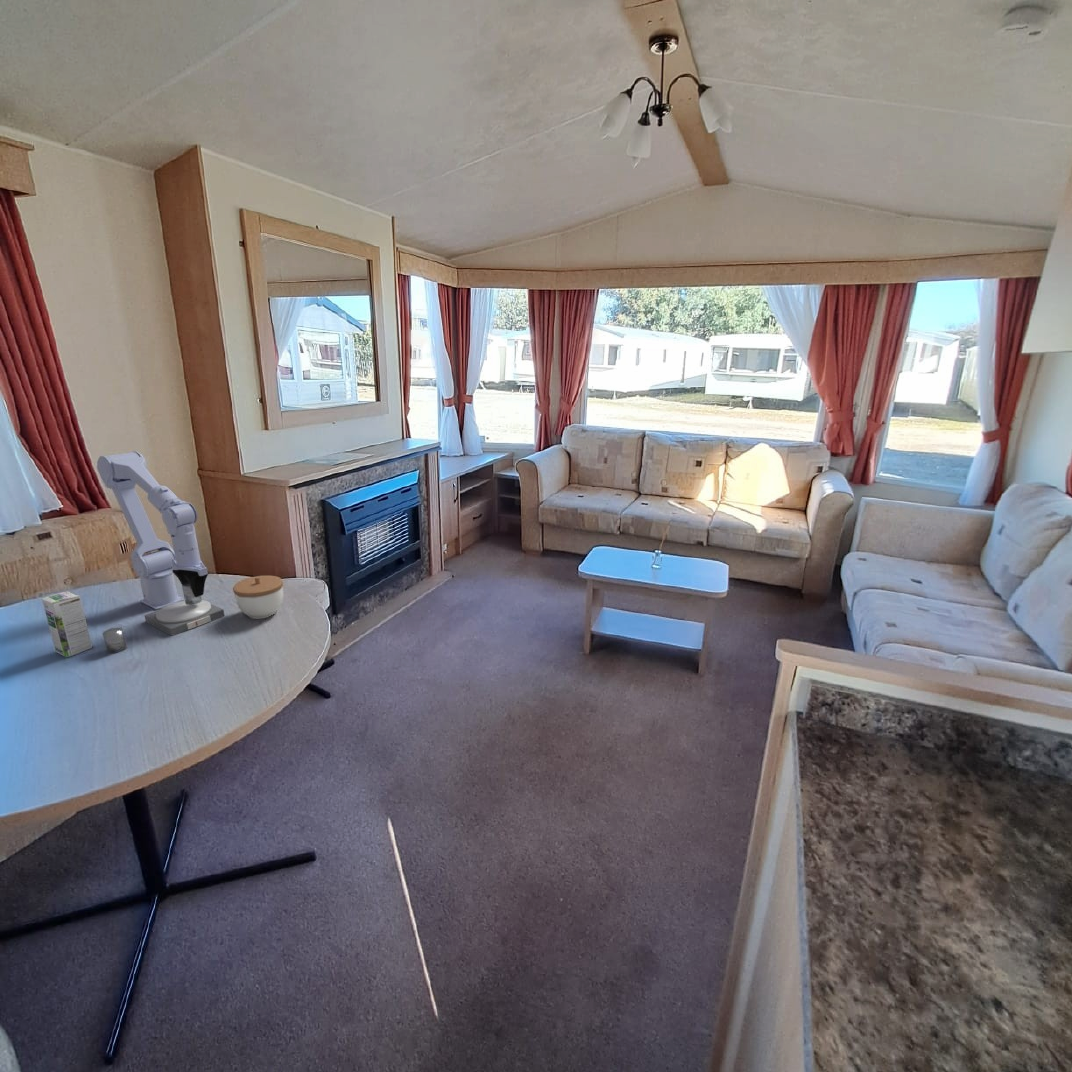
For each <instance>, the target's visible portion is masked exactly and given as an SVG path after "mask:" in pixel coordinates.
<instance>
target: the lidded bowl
mask: <svg viewBox="0 0 1072 1072" xmlns="http://www.w3.org/2000/svg"><path fill="white" fill-rule="evenodd" d="M232 590H233V591H232V592H233V594H234V599H235V603H236V605H237V608H238V609H239V610H240V611H241V612H242V613H243V614H244V615H246V616H248V618H250V619H254V620H261V619H267V618H270V617H272V616H274V615H276V613H277V611H278V609H279V608H280V607H281V605H282V604H283V601H284V581H283V579H282V578H281V577H280V576H275V575H257V576H252V577H248V578H245V579H242V580H240V581H238V582H236V583H235V584H234V585H233V587H232ZM273 614H274V615H273ZM271 615H272V616H271ZM269 616H270V617H269Z"/></svg>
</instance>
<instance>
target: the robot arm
mask: <svg viewBox="0 0 1072 1072" xmlns="http://www.w3.org/2000/svg"><path fill="white" fill-rule="evenodd" d="M96 469H97V472H98V474H99V476H100V479H101V480H102V482H103V485H104V486H105V488H107V489H111V490H112V493H113V494H114V496H115V498H116V501H117V503H118V505H119V508H120V510H121V512H122V514H123V516H124V518H125V521H126V522H127V526H128V527H129V529H130V531H131V533H132V536H133V538H134V540H135V543H136V545H135V547H134V548H133V550H132V551H131V553H130V554H129V556H130V559H131V562H132V569H133V571H134V572H135V574H136V575H137V576H139V577H140V579H139V583H140V587H141V588H140V589H141V593H142V599H141V600H140V602H141V603H143V605H144V604H145V605H146V606H148V607H151V608H152V609H154V610H160V609H161V608H163V607H165V606H167V605H170V604H173V603H176V602H180V601H185V599H184V597H182V596H181V595H180V596H179V595H178V590H177V586H176V585H177V584H176V580H175V576H176V577H177V579H178V580H179V582H180V584H181V587H182V586H183V585H184V584H187V583H189V584H190V586H191V589H192V592H193V594H194V596H195V597H198V596H201V597H202V596H204V593H205V585H206V579H207V577H208V576H209V573H210V572H209V570H208V568H207V566H205V564H204V563H203V561H202V560H201V555H200V551H199V550H200V549H199V546H198V545H199V544H198V540H197V534H196V528H195V523H196V522H197V521H198V513H197V510H196V507H195V506H194V505H193V504H192V503H191V502H189V501H185V500H181V499H180V498H179V497H178V496H177V495H176V494H175V493H174V492H173V491H172V490H171V489H170V488H169V486H165V485H161V484H159V482H157V480H156V478H155V477H154V476H153V475H152V474H151V473H150V471H149V470H148V465H147V460H146V458H145V457H144V456H143V454H142V453H140V452H139V451H138V450H134V451H131V452H124V453H117V454H111V455H110V454H109V455H100V456H99V457H98V459H97V465H96ZM136 485H137V486H138V487H140V488H141V489H142V490H143V491H144V492H145V493H147V498H146V499H147V500H148V502H149V503H150V504H151V505H152V506H153V507H154V508H155V509H156V510H157V511H158V512H159V513H160V514H161V515H162V516H161V519H162V521H163V523H164V526H165V527H166V531H167V532H168V534H169V535H170V539H171V544H172V547H171V544H170V543H169V542H167V541H165V540H161V539H159V538H158V537H157V534H156V533H155V530H154V528H153V526H152V524H151V522H150V519H149V517H148V515H147V512H146V511H145V508H144V506H143V503H142V501H141V499H140V497H139V494H138V493H137V490H136V488H135V487H136Z"/></svg>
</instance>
